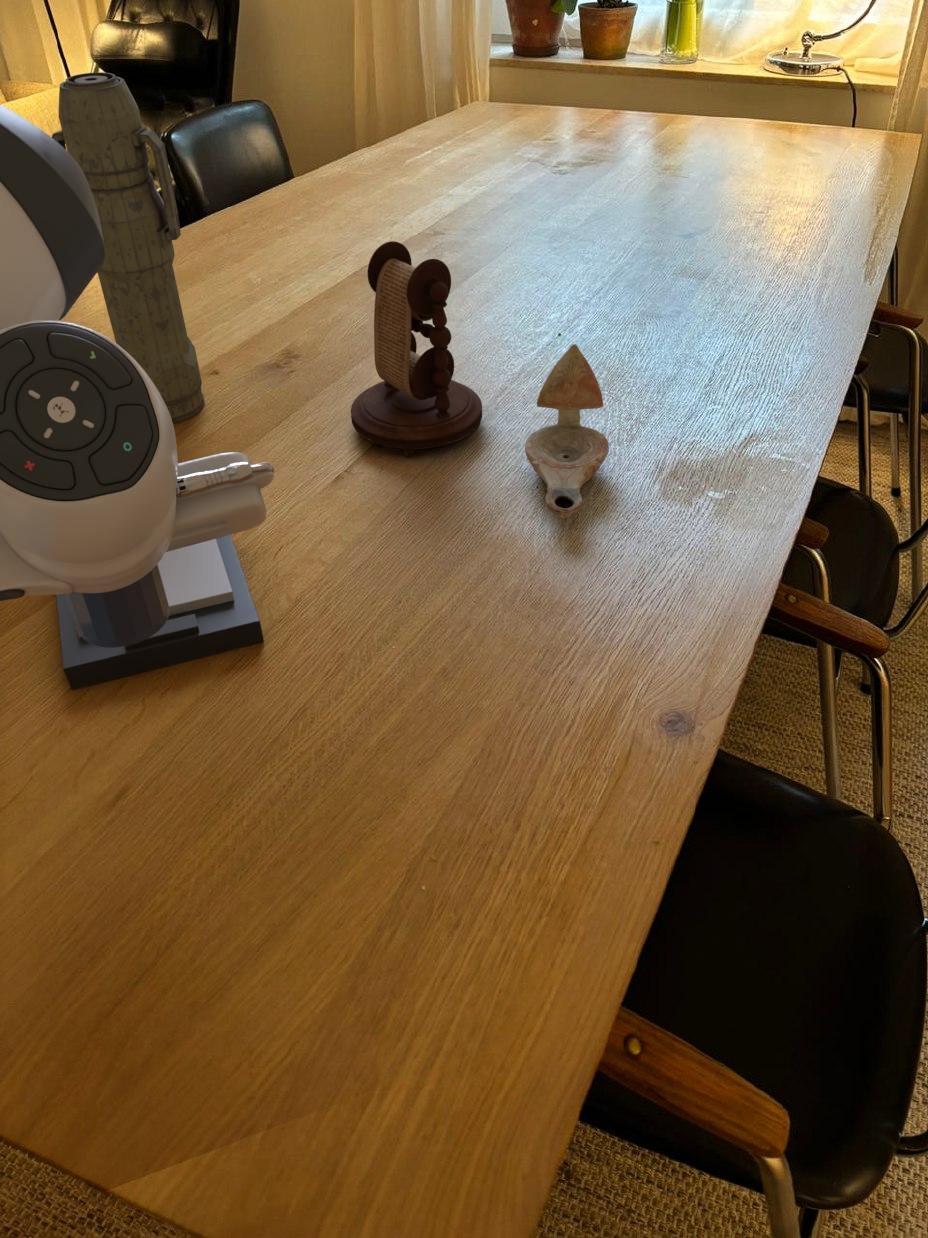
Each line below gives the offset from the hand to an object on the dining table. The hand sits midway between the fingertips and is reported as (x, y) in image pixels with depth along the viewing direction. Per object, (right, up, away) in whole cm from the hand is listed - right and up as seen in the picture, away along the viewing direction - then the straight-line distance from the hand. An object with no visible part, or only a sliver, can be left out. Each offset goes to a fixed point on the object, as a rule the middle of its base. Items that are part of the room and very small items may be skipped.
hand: (103, 556), depth 66 cm
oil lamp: (+35, +11, +39) cm, 53 cm away
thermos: (-11, +21, +52) cm, 57 cm away
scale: (-4, -3, +23) cm, 24 cm away
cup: (0, -4, +3) cm, 5 cm away
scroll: (+19, +18, +47) cm, 54 cm away
